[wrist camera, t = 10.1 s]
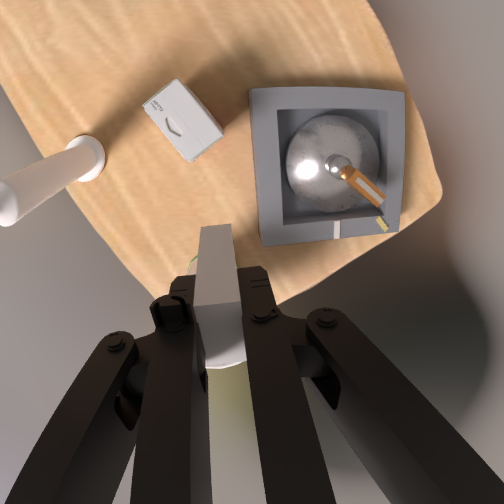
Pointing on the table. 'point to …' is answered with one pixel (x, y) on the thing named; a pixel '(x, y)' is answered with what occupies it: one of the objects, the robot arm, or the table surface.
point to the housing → (274, 145)
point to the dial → (333, 164)
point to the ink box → (184, 119)
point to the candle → (49, 177)
